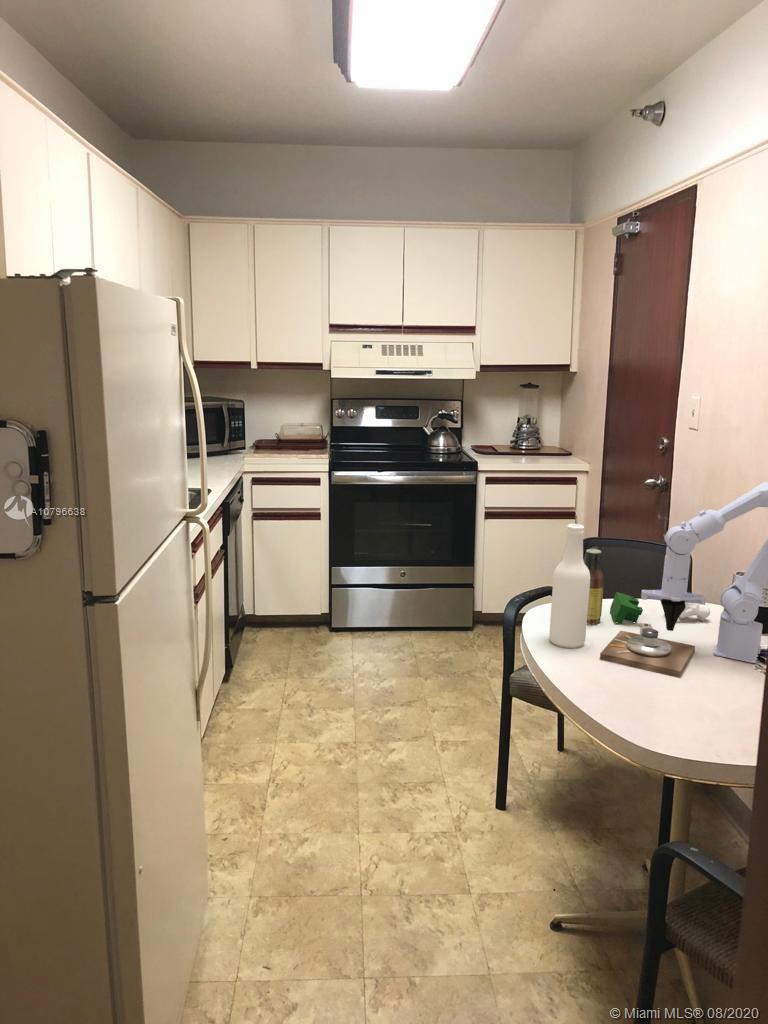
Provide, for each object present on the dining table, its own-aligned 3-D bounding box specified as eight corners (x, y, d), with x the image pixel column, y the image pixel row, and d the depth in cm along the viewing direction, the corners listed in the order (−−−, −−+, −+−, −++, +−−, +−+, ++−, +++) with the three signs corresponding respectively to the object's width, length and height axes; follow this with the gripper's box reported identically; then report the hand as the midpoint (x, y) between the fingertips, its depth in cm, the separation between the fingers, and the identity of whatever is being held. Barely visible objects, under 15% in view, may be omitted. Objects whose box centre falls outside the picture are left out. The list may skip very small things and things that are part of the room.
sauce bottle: (582, 615, 206) (588, 545, 202) (604, 620, 203) (610, 550, 198) (572, 621, 202) (577, 550, 197) (594, 627, 198) (600, 554, 194)
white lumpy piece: (665, 584, 207) (709, 590, 206) (659, 613, 209) (703, 619, 208) (672, 591, 201) (717, 598, 200) (665, 621, 202) (710, 628, 202)
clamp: (630, 639, 202) (643, 615, 196) (609, 632, 203) (621, 608, 197) (631, 610, 211) (643, 586, 206) (610, 603, 212) (621, 580, 207)
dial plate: (694, 651, 183) (695, 645, 182) (679, 677, 168) (680, 670, 167) (620, 635, 192) (620, 629, 192) (599, 659, 177) (600, 652, 177)
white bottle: (553, 648, 183) (562, 529, 176) (545, 635, 191) (553, 521, 185) (589, 649, 183) (599, 529, 177) (579, 635, 192) (588, 521, 185)
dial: (674, 658, 174) (676, 640, 173) (629, 654, 176) (630, 636, 175) (665, 638, 186) (667, 621, 185) (623, 634, 188) (625, 617, 187)
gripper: (646, 578, 178) (640, 632, 181) (711, 583, 175) (704, 638, 178) (642, 570, 185) (637, 622, 188) (704, 575, 182) (698, 627, 185)
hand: (669, 629), depth 183 cm, fingers closed
